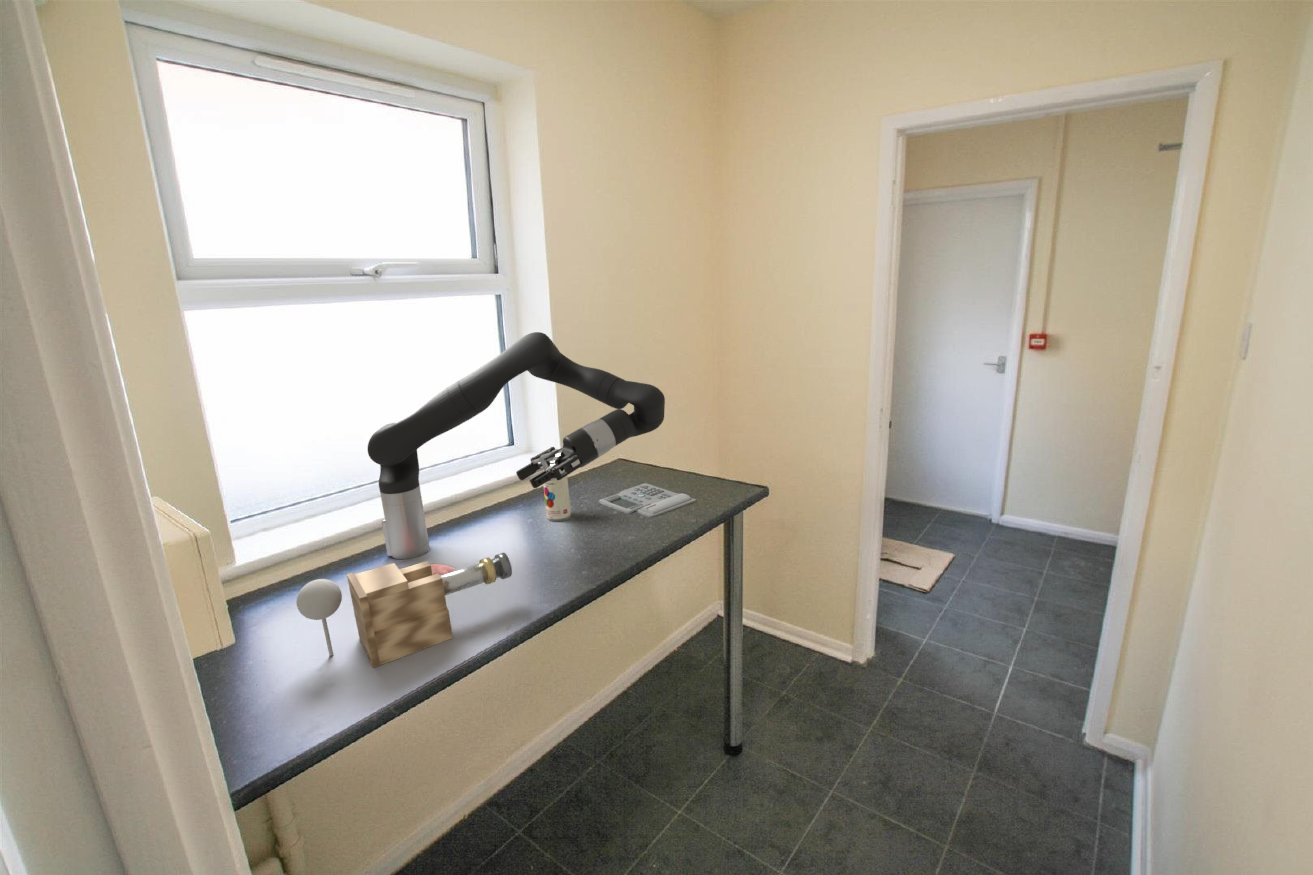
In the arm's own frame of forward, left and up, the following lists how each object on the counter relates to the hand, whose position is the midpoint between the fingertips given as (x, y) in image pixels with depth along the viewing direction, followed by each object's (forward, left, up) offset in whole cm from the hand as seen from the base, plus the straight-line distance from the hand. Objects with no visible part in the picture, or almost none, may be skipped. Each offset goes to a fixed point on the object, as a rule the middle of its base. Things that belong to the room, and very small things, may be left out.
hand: (524, 480), depth 125 cm
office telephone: (+14, +55, -26) cm, 63 cm away
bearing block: (-19, -19, -25) cm, 37 cm away
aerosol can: (-9, +42, -25) cm, 50 cm away
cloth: (-33, +1, -26) cm, 42 cm away
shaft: (-10, -10, -20) cm, 25 cm away
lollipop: (-31, -26, -25) cm, 47 cm away
